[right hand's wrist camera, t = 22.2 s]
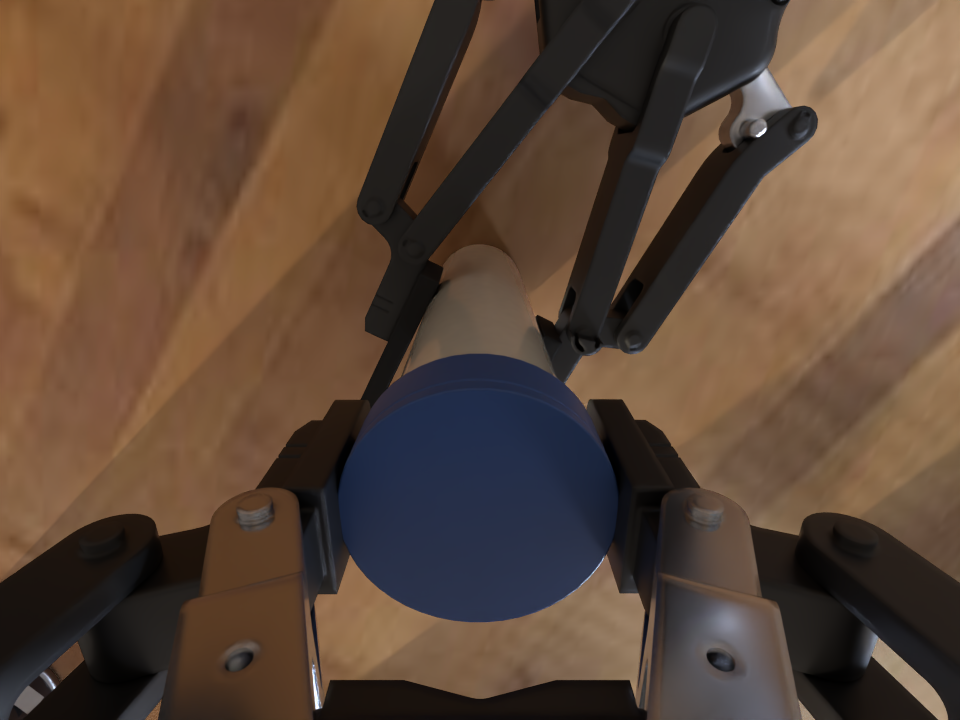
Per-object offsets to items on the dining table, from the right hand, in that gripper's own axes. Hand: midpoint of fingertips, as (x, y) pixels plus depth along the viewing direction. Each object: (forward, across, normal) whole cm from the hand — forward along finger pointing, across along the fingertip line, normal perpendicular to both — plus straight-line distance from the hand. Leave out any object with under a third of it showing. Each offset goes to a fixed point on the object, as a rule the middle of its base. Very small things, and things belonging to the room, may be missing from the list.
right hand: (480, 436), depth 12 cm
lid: (-3, 0, 0) cm, 3 cm away
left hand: (+9, -2, -5) cm, 10 cm away
